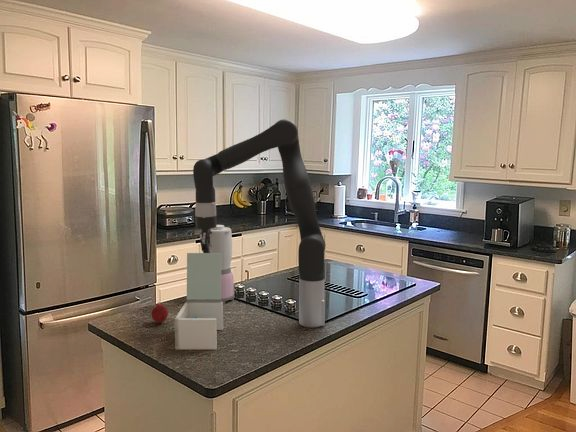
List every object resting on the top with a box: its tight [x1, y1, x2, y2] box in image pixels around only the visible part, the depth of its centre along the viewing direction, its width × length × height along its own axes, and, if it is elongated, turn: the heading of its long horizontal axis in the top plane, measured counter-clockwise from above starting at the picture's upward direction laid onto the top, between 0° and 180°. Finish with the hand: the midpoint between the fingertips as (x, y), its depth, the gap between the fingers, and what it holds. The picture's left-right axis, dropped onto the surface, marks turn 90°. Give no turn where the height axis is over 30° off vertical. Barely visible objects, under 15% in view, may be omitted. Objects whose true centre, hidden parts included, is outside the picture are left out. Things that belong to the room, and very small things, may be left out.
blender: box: [201, 224, 235, 305], centre depth 201 cm, size 16×12×32 cm
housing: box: [173, 301, 224, 350], centre depth 161 cm, size 13×17×10 cm
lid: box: [186, 252, 221, 302], centre depth 168 cm, size 12×17×1 cm
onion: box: [150, 301, 169, 324], centre depth 175 cm, size 6×6×8 cm
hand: (207, 261), depth 174 cm, fingers closed
